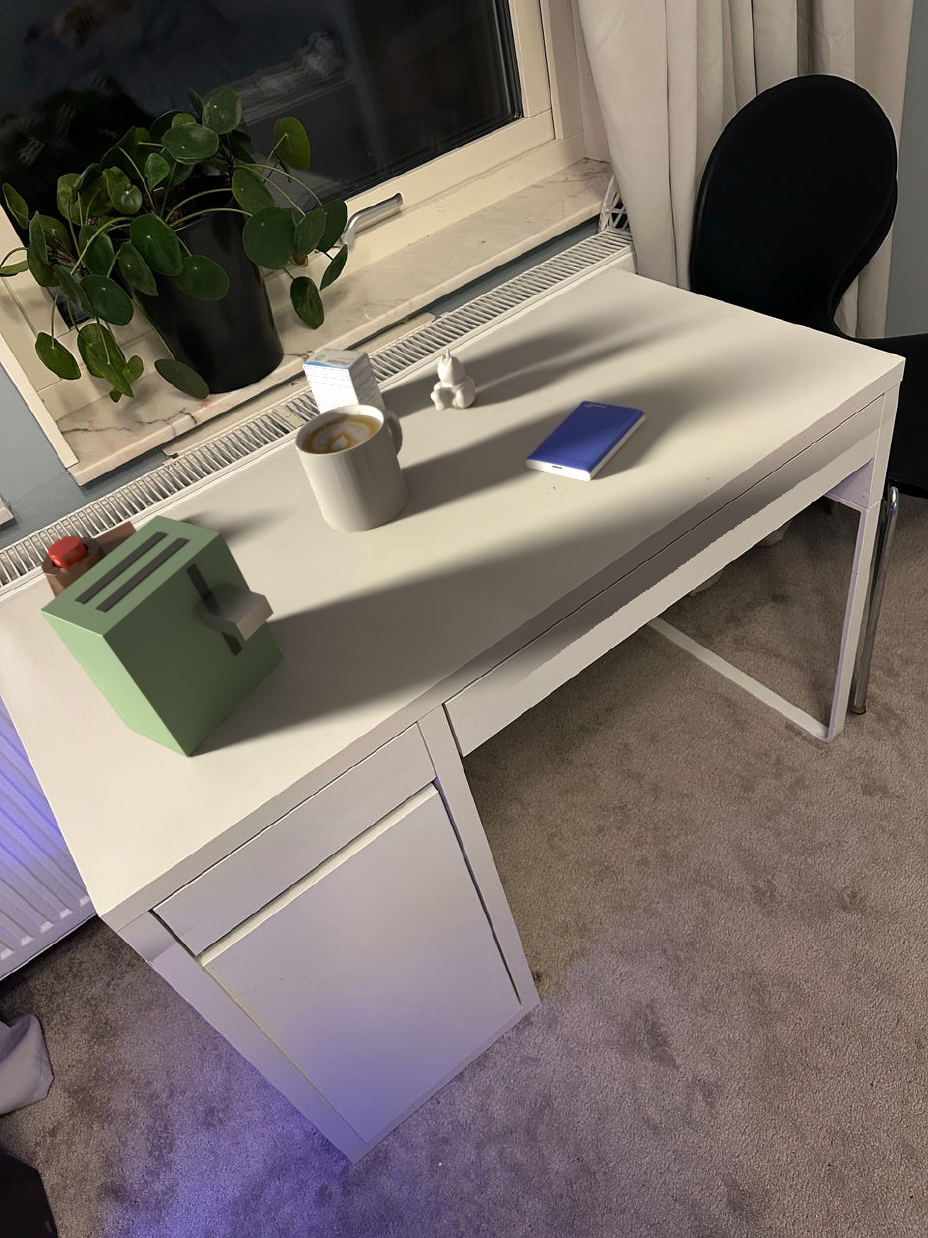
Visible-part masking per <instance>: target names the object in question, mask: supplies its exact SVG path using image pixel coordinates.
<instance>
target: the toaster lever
mask: <svg viewBox="0 0 928 1238" xmlns="http://www.w3.org/2000/svg"><path fill="white" fill-rule="evenodd" d="M195 610H196V612H197V613H198V615H199V617H200V619H201V620H202V622H203V624H204V625H205V626H206V627H209V628H212V629H214V630H217V631H220V632H223V633H225V634H228V635H231V636H234V637H236V638H239V639H242V640H245V641H246V640H247V639H248V638H249V637H250V636H251V635H252V634H253V633H254V632H255V631H256V630H257V629H258V628H259V627H260V626H261V625H262V624H263V623H264V622H265V621H266V622H267V620H269V618H270V617H272V615H273V614H274V610H273V609H272V606H271V604H270V602H269V600H268V599H267V596H266V595H265V594H263V593H258V592H255V591H252V590H251V591H249V590H246V589H243V588H240V587H237V586H234V585H231V584H227V583H222V584H221V585H220V586H219V587H218V588H217V589H216V590H215V591H214V592H213V593H212V594H211V595H210V596H208V597H207V598H206V599H205V600H204V601H203V602H202V603H201V604H200V605H199V606H198V607H197V608H196V609H195Z"/></svg>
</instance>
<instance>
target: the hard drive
mask: <svg viewBox="0 0 928 1238" xmlns="http://www.w3.org/2000/svg"><path fill="white" fill-rule="evenodd" d="M645 420H646V414H645V411H644V410H643V409H639V408H635V407H629V406H628V407H627V406H621V405H615V404H608V403H602V402H595V401H590V400H583V401H581V402H580V403H579V404H578V405H577V406H576V407H575V408H574V409H573V411H572V412H570V413H569V414H568V415H567V416H566V417H565V418H564V419H563V420H562V421H561V423H560V424H558V425H557V426H556V428H554V430H553V431H551V432H550V434H548V436H546V438H545V439H543V440H542V441H541V443H540V444H539V445H538V446H537V447H535V448H534V450H533V451H532V452H531V453H529V454H528V455H527V457H526V458H525V461H526V467H527V468H528V469H531V470H534V471H535V470H536V471H541V472H544V473H550V474H553V475H554V474H555V475H559V476H563V477H567V478H572V479H576V480H581V481H586V482H587V481H588V482H589V481H591V480H592V479H593V478H594V477H595V476H596V474H598V472H599V471H600V470H601V469H602V468H603V467H604V466H605V465H606V464H607V463H608V462H609V461H610V459H611V458H612V457H613V456H614V455H615V454H616V453H617V451H618V450H619V449H621V447H622V446H623V445H624V444H625V443H626V442H627V440H628V439H630V437H631V436H633V434H634V433H635V431H637V430H638V428H640V426H641V425H642V424H643V423H644V422H645Z"/></svg>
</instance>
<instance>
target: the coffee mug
mask: <svg viewBox="0 0 928 1238" xmlns="http://www.w3.org/2000/svg"><path fill="white" fill-rule="evenodd" d="M403 435H404V434H403V430H402V426H401V423H400V420H399V417H398V416H397V415H396V413H394V411H392V410H390V409H386V410H384V409H382V410H379V409H378V408H376V407H373V406H370V405H360V404H356V405H347V406H342V407H338V408H334V409H331V410H329V411H326V412H324V413H320V414H318V415H315V416H314V417H312V418H311V419H309V420H308V421H307V422H305V423H304V425H302V426H301V427H300V428H299V430H298V431H297V432H296V435H295V437H294V445H295V449H296V451H297V453H298V456H299V458H300V461H301V464H302V466H303V468H304V471H305V473H306V476H307V478H308V481H309V483H310V486H311V489H312V491H313V494H314V496H315V498H316V502H317V503H318V504H317V505H318V506H319V508H320V511H321V514H322V516H323V519H324V521H325V523H326V524H327V525H328V526H329V527H330V528H331V529H334V530H336V531H339V532H344V533H345V532H346V533H358V532H364V531H365V532H366V531H369V530H372V529H375V528H378V527H381V526H382V525H384V524H386V523H389V522H390V521H392V520H393V519H394V518H396V517H397V516H398V515H399V514H401V512H402V511H403V510H404V509H405V507H406V506H407V504H408V501H409V491H408V488H407V484H406V482H405V478H404V475H403V472H402V468H401V465H400V462H399V459H398V455H399V453H400V451H401V450H402V446H403V442H404V441H403V439H404V436H403Z"/></svg>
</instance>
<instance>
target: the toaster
mask: <svg viewBox="0 0 928 1238" xmlns="http://www.w3.org/2000/svg"><path fill="white" fill-rule="evenodd" d="M136 531H137V532H136V533H134V534H133V535H132V536H131V537H130V538H128V539H127V540H126V541H125V542H123V543H122V544H121V545H120V546H118V547H117V548H116V549H115V550H114V551H112V552H111V553H110V554H109V555H107V556H106V557H105V558H104V559H102V560H101V561H100V562H99V563H98V564H96V565H95V566H94V567H93V568H91V569H90V570H89V571H88V572H86V573H85V574H84V575H83V576H82V577H80V578H79V579H78V580H77V581H75V582H74V583H73V584H72V585H70V586H69V587H68V588H67V589H66V590H64V591H63V592H62V593H61V594H59V595H58V596H57V597H56V598H55V597H54V598H53V599H52V600H51V601H50V602H48V603H47V604H46V605H44V606H43V607H42V608H41V609H40V610H39V612H40V613H41V614H42V616H43V617H44V618H45V620H46V621H47V623H48V624H49V625H50V626H51V627H52V629H53V630H54V632H55V633H56V634H57V635H58V637H59V638H60V639H61V641H62V643H64V645H65V646H66V648H67V649H68V650H69V652H70V653H71V654H72V656H73V657H74V659H75V660H76V661H77V662H78V664H79V665H80V666H81V668H82V669H83V670H84V672H85V673H86V674H87V676H88V677H89V678H90V680H91V681H92V682H93V684H94V685H95V686H96V688H97V689H98V691H100V693H101V694H102V696H103V697H104V698H105V700H106V701H107V703H108V704H109V705H110V707H111V708H112V709H113V710H114V711H115V713H116V714H117V715H118V717H119V718H120V720H121V721H122V722H123V724H124V725H125V726H126V727H127V729H129V730H130V731H133V732H135V733H136V734H139V735H140V736H143V737H145V738H147V739H149V740H151V741H153V742H155V743H157V744H159V745H161V746H163V747H165V748H167V749H169V750H171V751H173V752H175V753H177V754H179V755H181V756H184V757H185V758H190V757H191V755H192V754H194V752H195V751H196V750H197V749H198V748H199V747H200V746H201V745H202V744H203V742H205V741H206V739H207V738H209V736H210V735H212V733H213V732H214V731H215V730H216V729H217V728H218V727H219V726H220V725H221V724H222V722H223V721H225V719H227V717H228V716H229V715H230V714H231V713H232V712H233V711H234V710H235V709H236V708H237V707H238V705H240V704H241V703H242V702H243V700H244V699H245V698H246V697H247V696H248V695H249V694H250V693H251V692H252V691H253V690H254V689H255V688H256V687H257V686H258V685H259V683H260V682H261V681H262V680H263V679H264V678H265V677H266V676H267V675H268V674H269V673H270V672H271V671H272V670H273V669H274V668H275V667H276V666H277V664H279V662H281V660H282V659H283V658H284V657H285V655H284V653H283V651H282V649H281V647H280V645H279V643H278V641H277V639H276V637H275V635H274V633H273V632H272V629H271V627H270V626H269V623H268V621H267V620H266V621H265V622H264V623H263V624H262V625H261V626H260V627H259V628H258V629H257V630H256V631H255V632H254V633H253V634H252V635H251V636H250V637H249V638H248V639H247V640H246V641H245V640H242V639H239V638H236V637H234V636H231V635H228V634H225V633H223V632H220V631H217V630H214V629H212V628H209V627H206V626H205V625H204V624H203V622H202V620H201V619H200V617H199V615H198V613H197V612H196V610H195V609H196V608H197V607H198V606H199V605H200V604H201V603H202V602H203V601H204V600H205V599H206V598H207V597H208V596H210V595H211V594H212V593H213V592H214V591H215V590H216V589H217V588H218V587H219V586H220V585H221V584H222V583H227V584H231V585H234V586H237V587H240V588H243V589H246V590H249V591H252V590H251V588H250V587H249V584H248V582H247V581H246V579H245V576H244V575H243V573H242V571H241V569H240V567H239V565H238V562H237V561H236V558H235V557H234V555H233V553H232V551H231V549H230V547H229V545H228V543H227V542H226V539H225V537H224V536H223V533H222V532H220V531H217V530H214V529H210V528H206V527H203V526H199V525H195V524H191V523H188V522H184V521H180V520H177V519H173V518H169V517H166V516H162V515H158V514H157V515H155V516H154V517H153V518H152V519H150V520H149V521H148V522H146V523H145V524H144V525H143V526H142V527H141V528H139V529H138V530H136Z"/></svg>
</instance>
